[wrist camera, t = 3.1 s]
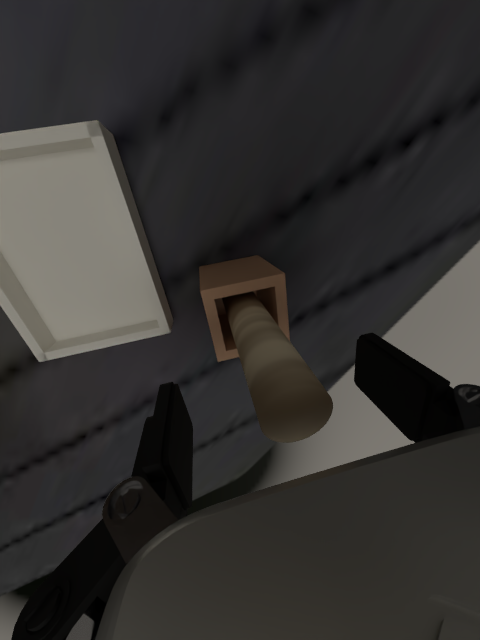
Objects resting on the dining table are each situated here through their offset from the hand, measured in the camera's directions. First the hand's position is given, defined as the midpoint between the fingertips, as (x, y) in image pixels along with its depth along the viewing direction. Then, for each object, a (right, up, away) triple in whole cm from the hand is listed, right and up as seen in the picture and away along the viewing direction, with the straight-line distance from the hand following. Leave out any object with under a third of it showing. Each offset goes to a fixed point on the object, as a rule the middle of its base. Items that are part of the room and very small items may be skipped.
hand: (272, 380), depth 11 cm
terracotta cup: (-2, +6, +13) cm, 14 cm away
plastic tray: (-16, +9, +9) cm, 20 cm away
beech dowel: (-2, +6, +12) cm, 13 cm away
